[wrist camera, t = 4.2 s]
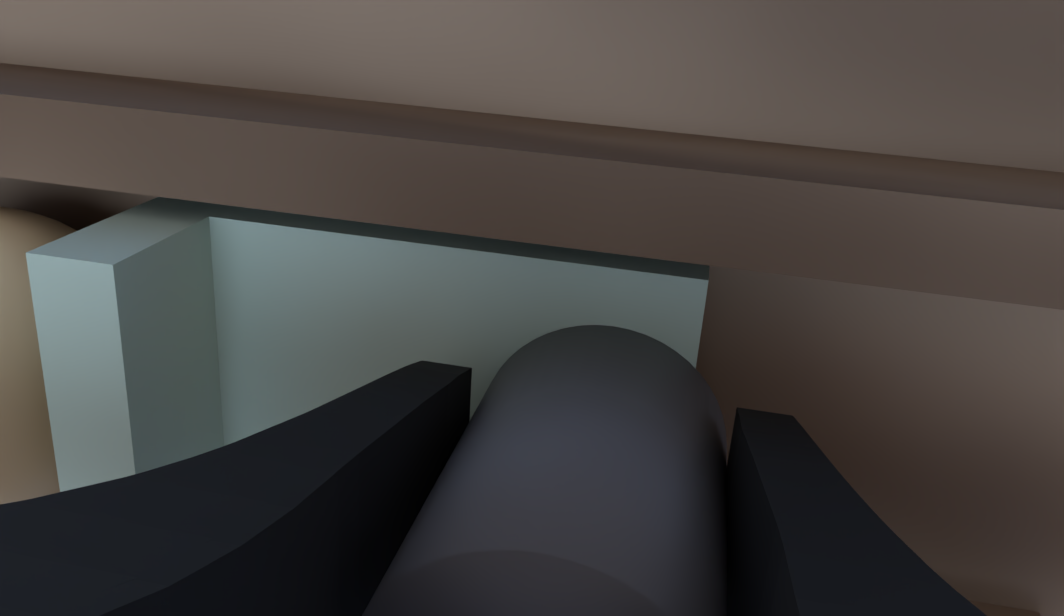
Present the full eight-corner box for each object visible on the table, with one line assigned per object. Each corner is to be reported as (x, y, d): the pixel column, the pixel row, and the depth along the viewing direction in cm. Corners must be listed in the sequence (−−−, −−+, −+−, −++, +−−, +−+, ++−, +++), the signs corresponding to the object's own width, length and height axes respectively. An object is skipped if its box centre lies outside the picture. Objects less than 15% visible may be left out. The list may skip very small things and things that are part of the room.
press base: (1103, 748, 14) (1192, 937, 12) (-121, 511, 18) (-276, 613, 15) (1397, 9, 10) (1643, 29, 7) (-266, -113, 14) (-517, -130, 11)
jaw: (703, 544, 13) (685, 951, 8) (213, 459, 14) (-95, 761, 9) (751, 249, 11) (772, 506, 6) (194, 181, 13) (-198, 346, 7)
